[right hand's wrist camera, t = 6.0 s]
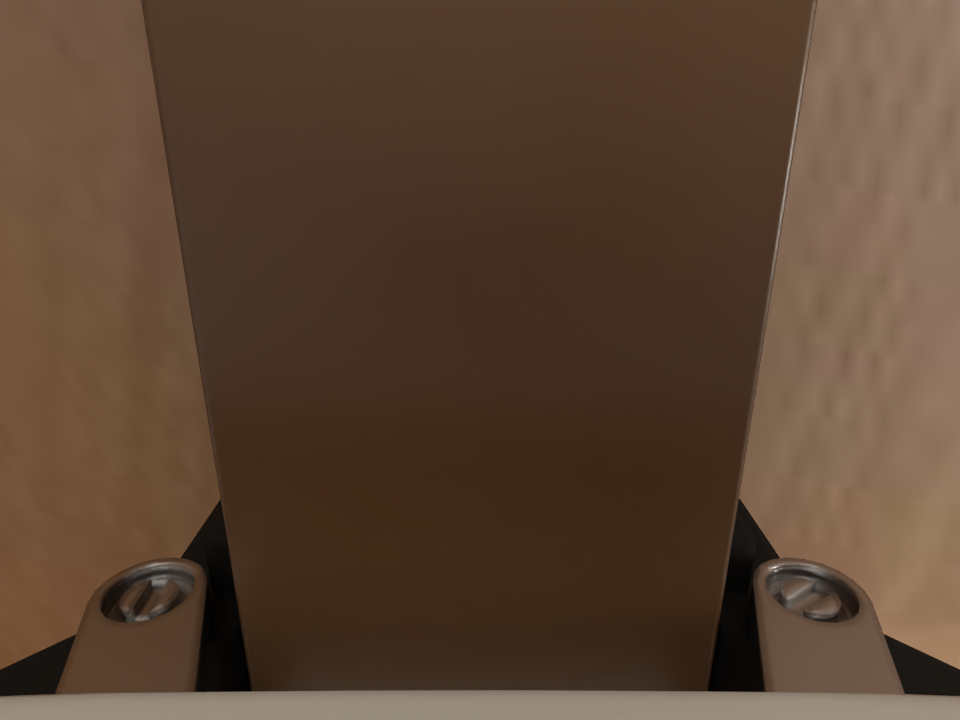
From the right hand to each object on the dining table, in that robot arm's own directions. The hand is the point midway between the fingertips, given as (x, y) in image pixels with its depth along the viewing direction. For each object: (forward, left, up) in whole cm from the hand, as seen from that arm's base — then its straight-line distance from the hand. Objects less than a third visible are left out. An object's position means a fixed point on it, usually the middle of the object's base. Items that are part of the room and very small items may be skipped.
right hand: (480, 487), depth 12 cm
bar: (+29, -13, -2) cm, 32 cm away
